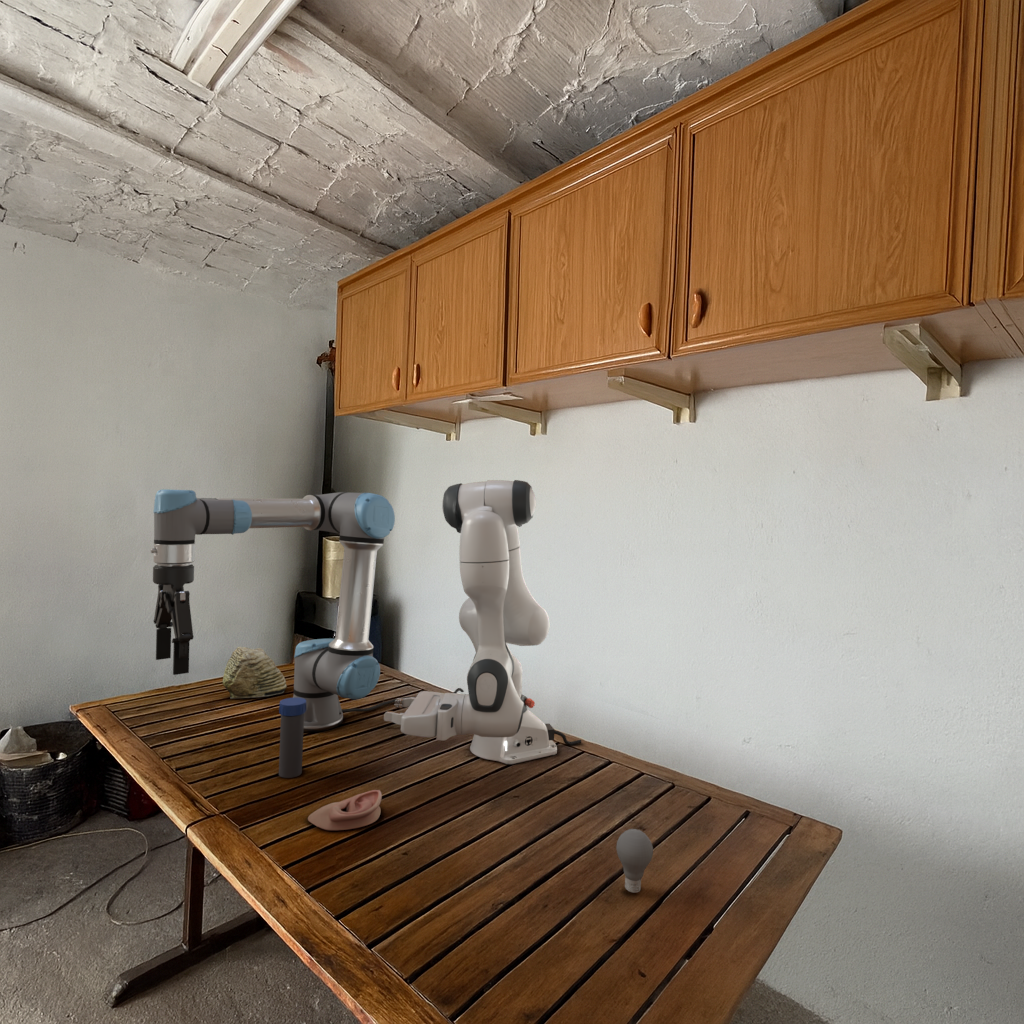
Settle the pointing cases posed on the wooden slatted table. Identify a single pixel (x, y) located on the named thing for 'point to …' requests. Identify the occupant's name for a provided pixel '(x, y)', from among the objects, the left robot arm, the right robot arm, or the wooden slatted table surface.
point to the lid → (292, 706)
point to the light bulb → (634, 857)
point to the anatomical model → (349, 812)
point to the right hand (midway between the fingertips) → (390, 709)
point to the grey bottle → (291, 746)
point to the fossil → (252, 674)
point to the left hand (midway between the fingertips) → (171, 666)
